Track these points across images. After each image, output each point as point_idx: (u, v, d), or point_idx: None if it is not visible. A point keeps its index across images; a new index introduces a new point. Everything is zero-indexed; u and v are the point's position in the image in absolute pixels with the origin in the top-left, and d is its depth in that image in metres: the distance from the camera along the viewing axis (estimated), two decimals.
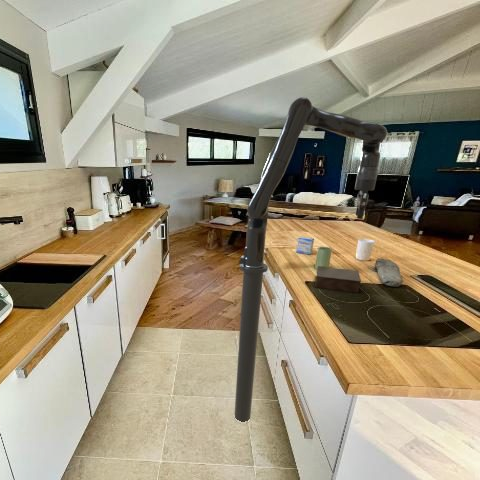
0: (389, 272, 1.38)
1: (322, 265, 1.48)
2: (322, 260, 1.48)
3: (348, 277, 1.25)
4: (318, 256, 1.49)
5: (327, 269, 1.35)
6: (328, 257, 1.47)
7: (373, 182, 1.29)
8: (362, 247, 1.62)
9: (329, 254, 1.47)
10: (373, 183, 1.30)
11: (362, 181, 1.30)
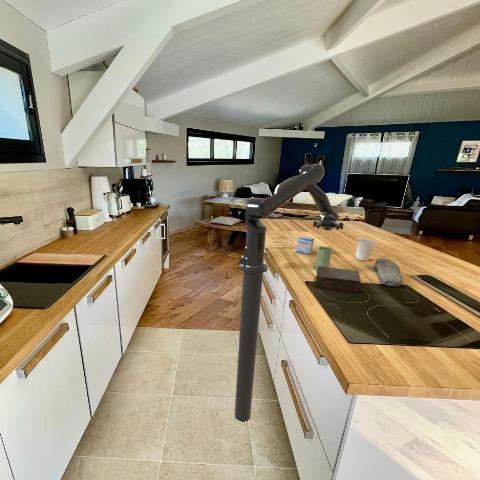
0: (389, 272, 1.38)
1: (322, 265, 1.48)
2: (322, 260, 1.48)
3: (348, 277, 1.25)
4: (318, 256, 1.49)
5: (327, 269, 1.35)
6: (328, 257, 1.47)
7: None
8: (362, 247, 1.62)
9: (329, 254, 1.47)
10: None
11: (335, 219, 1.66)
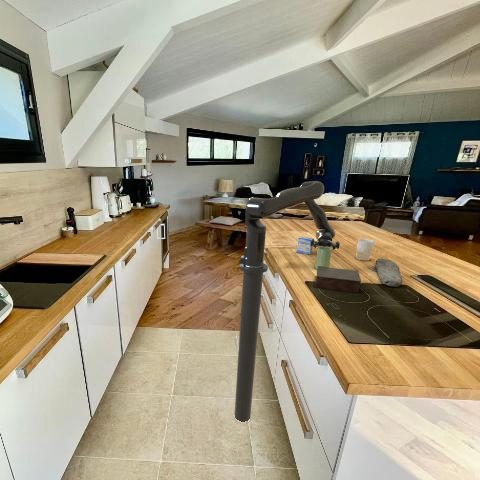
0: (389, 272, 1.38)
1: (322, 265, 1.48)
2: (322, 260, 1.48)
3: (348, 277, 1.25)
4: (318, 256, 1.49)
5: (327, 269, 1.35)
6: (328, 257, 1.47)
7: None
8: (362, 247, 1.62)
9: (329, 254, 1.47)
10: None
11: (332, 238, 1.70)
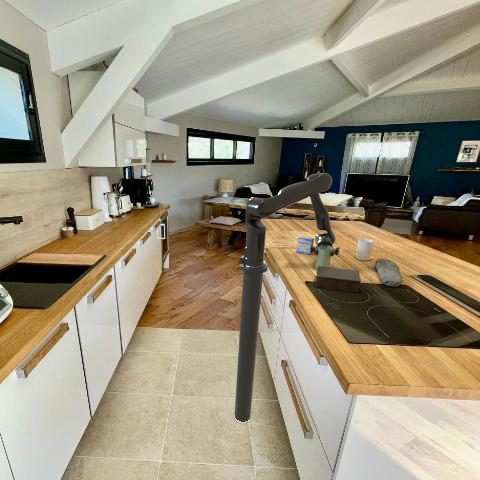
0: (389, 272, 1.38)
1: (322, 265, 1.48)
2: (322, 260, 1.48)
3: (348, 277, 1.25)
4: (318, 256, 1.49)
5: (327, 269, 1.35)
6: (328, 257, 1.47)
7: None
8: (362, 247, 1.62)
9: (329, 254, 1.47)
10: None
11: (332, 243, 1.59)
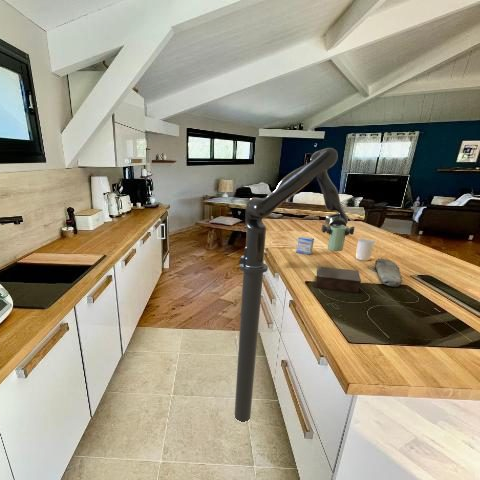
0: (389, 272, 1.38)
1: (336, 245, 1.35)
2: (336, 240, 1.35)
3: (348, 277, 1.25)
4: (332, 235, 1.36)
5: (327, 269, 1.35)
6: (343, 236, 1.34)
7: None
8: (362, 247, 1.62)
9: (344, 233, 1.34)
10: None
11: (345, 223, 1.46)
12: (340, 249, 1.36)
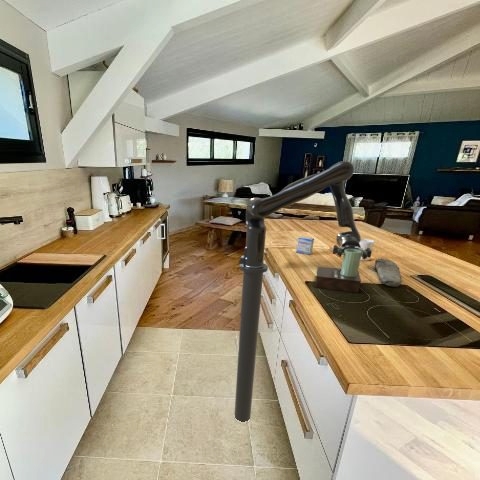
0: (389, 272, 1.38)
1: (350, 270, 1.25)
2: (350, 265, 1.24)
3: (348, 277, 1.25)
4: (345, 260, 1.25)
5: (327, 269, 1.35)
6: (357, 261, 1.24)
7: None
8: (362, 247, 1.62)
9: (359, 257, 1.23)
10: None
11: (359, 244, 1.35)
12: (354, 274, 1.26)
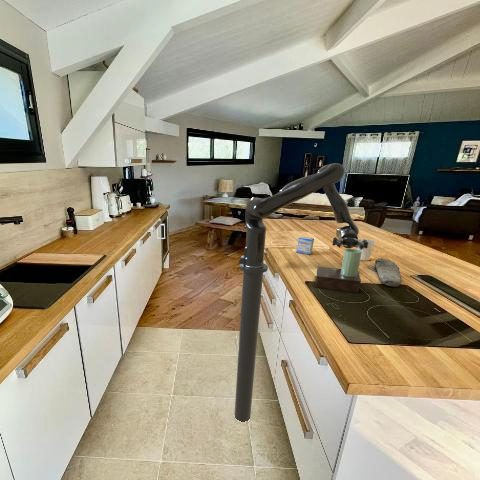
0: (389, 272, 1.38)
1: (350, 270, 1.25)
2: (350, 265, 1.24)
3: (348, 277, 1.25)
4: (345, 260, 1.25)
5: (327, 269, 1.35)
6: (357, 261, 1.24)
7: None
8: None
9: (359, 257, 1.23)
10: None
11: None
12: (354, 274, 1.26)
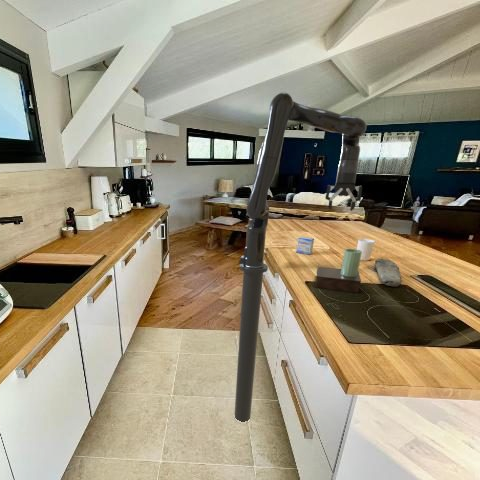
0: (388, 272, 1.38)
1: (350, 270, 1.25)
2: (350, 265, 1.24)
3: (348, 277, 1.25)
4: (345, 260, 1.25)
5: (327, 269, 1.35)
6: (357, 261, 1.24)
7: None
8: (362, 247, 1.62)
9: (359, 257, 1.23)
10: None
11: (355, 174, 1.32)
12: (354, 274, 1.26)
